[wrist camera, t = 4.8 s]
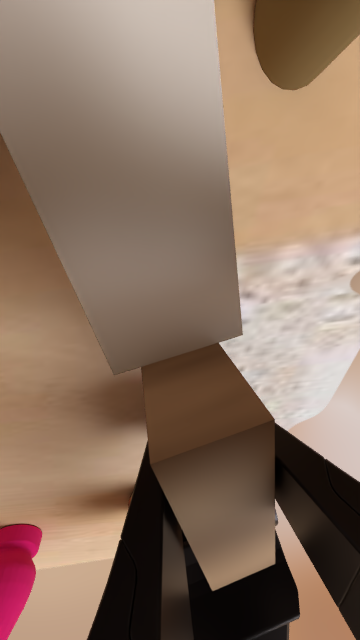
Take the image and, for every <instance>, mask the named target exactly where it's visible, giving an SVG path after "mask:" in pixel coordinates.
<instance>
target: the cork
mask: <svg viewBox="0 0 360 640" xmlns="http://www.w3.org/2000/svg"><path fill="white" fill-rule="evenodd" d="M359 34H360V0H257V2H256V5H255V17H254V39H255V47H256V53H257V56H258V59H259V61H260V64H261V67H262V70H263V71H264V72H265V74H266V75H267V77H268V78H269V79H270V81H271V82H272V83H274V84H275V85H277V86H278V87H280V88H282V89H286V90H297V89H299V88H302V87H304V86H307V85H308V84H309V83H310V82H312V81H313V80H314V79H315V78H316V77H317V76H318V75H319V74H320V73H321V72H322V71H323V70H324V69H325V68H326V67H327V66H328V65H329V64H330V63H331V62H332V61H333V60H334V59H335V58H336V57H337V56H338V55H339V54H340V53H341V52H342V51H343V50H344V49H345V48H346V47H347V46H348V45H349V44H350V43H351V42H352V41H353V40H354V39H355V38H356V37H357V36H358V35H359Z"/></svg>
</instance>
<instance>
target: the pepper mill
mask: <svg viewBox="0 0 360 640" xmlns="http://www.w3.org/2000/svg"><path fill="white" fill-rule="evenodd" d="M41 538H42V532H41V530H40V529H39V528H37V527H35V526H32V525H26V524H20V525H12V526H7V527H4V528H1V529H0V640H7V639H8V637H9V635H10V633H11V631H12V629H13V627H14V625H15V623H16V622H17V620H18V618H19V616H20V614H21V612H22V610H23V609H24V606H25V604H26V602H27V599H28V597H29V595H30V592H31V590H32V586H33V583H34V580H35V575H36V569H35V565H34V563H33V561H32V558H33V557H34V556H35V555H36V554H37V552H38V549H39V546H40V542H41Z"/></svg>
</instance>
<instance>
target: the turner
mask: <svg viewBox="0 0 360 640" xmlns="http://www.w3.org/2000/svg"><path fill="white" fill-rule="evenodd" d="M0 133H1V135H2V137H3V139H4V142H5V144H6V146H7V148H8V150H9V152H10V154H11V156H12V159H13V161H14V163H15V165H16V167H17V169H18V171H19V174H20V176H21V178H22V180H23V182H24V184H25V186H26V188H27V191H28V193H29V195H30V197H31V199H32V201H33V203H34V206H35V208H36V210H37V212H38V214H39V216H40V218H41V220H42V223H43V225H44V227H45V229H46V231H47V233H48V235H49V238H50V240H51V242H52V244H53V246H54V248H55V250H56V252H57V255H58V257H59V259H60V261H61V263H62V265H63V267H64V269H65V272H66V274H67V276H68V278H69V280H70V282H71V284H72V287H73V289H74V291H75V293H76V295H77V297H78V299H79V301H80V304H81V306H82V308H83V310H84V312H85V314H86V316H87V319H88V321H89V323H90V325H91V327H92V329H93V331H94V333H95V336H96V338H97V340H98V342H99V344H100V346H101V348H102V350H103V353H104V355H105V357H106V359H107V361H108V363H109V365H110V368H111V370H112V372H113V374H114V375H117V374H120V373H123V372H126V371H129V370H133V369H136V368H139V367H141V370H142V381H143V392H144V403H145V413H146V424H147V435H148V446H149V457H150V465H151V467H152V469H153V471H154V473H155V475H156V477H157V479H158V481H159V483H160V485H161V487H162V489H163V491H164V494H165V496H166V498H167V500H168V502H169V504H170V506H171V508H172V510H173V512H174V514H175V516H176V518H177V520H178V522H179V524H180V526H181V528H182V530H183V532H184V534H185V536H186V538H187V540H188V542H189V544H190V546H191V548H192V550H193V553H194V555H195V557H196V559H197V561H198V563H199V565H200V567H201V569H202V571H203V573H204V575H205V577H206V579H207V581H208V583H209V585H210V587H211V589H212V591H214V590H217V589H219V588H221V587H223V586H226V585H228V584H230V583H233V582H235V581H237V580H239V579H242V578H244V577H246V576H249V575H251V574H253V573H255V572H258V571H260V570H262V569H265V568H267V567H269V566H271V565H274V564H275V419H274V418H273V416H272V415H271V414H270V412H269V411H268V410H267V408H266V407H265V406H264V404H263V403H262V402H261V400H260V399H259V397H258V396H257V395H256V393H255V392H254V391H253V389H252V388H251V387H250V385H249V384H248V382H247V381H246V380H245V378H244V377H243V376H242V374H241V373H240V372H239V370H238V369H237V367H236V366H235V365H234V363H233V362H232V361H231V359H230V358H229V357H228V355H227V354H226V352H225V351H224V350H223V348H222V347H221V346H220V344H219V342H222V341H225V340H228V339H232V338H235V337H238V336H241V335H243V333H242V321H241V309H240V298H239V286H238V274H237V263H236V251H235V240H234V228H233V216H232V205H231V193H230V181H229V170H228V158H227V147H226V135H225V123H224V112H223V100H222V88H221V77H220V65H219V54H218V42H217V30H216V19H215V7H214V0H0Z"/></svg>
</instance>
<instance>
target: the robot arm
mask: <svg viewBox="0 0 360 640" xmlns="http://www.w3.org/2000/svg"><path fill="white" fill-rule="evenodd" d="M275 499H276V501H277V502H278V504H279V506H280V508H281V510H282V511H283V513H284V515H285V516H286V518H287V520H288V522H289V523H290V525H291V527H292V528H293V530H294V532H295V534H296V536H297V537H298V539H299V540H300V543H301V544H302V546H303V548H304V549H305V551H306V553H307V555H308V556H309V558H310V560H311V562H312V563H313V565H314V567H315V569H316V570H317V572H318V574H319V575H320V577H321V579H322V581H323V582H324V584H325V586H326V588H327V589H328V591H329V593H330V595H331V596H332V598H333V600H334V602H335V603H336V605H337V607H339V611H340V612H341V614H342V616H343V617H344V619H345V621H346V623H347V624H348V626H349V628H350V630H351V631H352V633H353V635H354V637H355V638H356V640H360V482H359V481H357V480H356V479H354V478H353V477H351V476H350V475H348V474H347V473H346V472H344V471H342V470H341V469H340V468H338V467H337V466H335V465H334V464H333V463H331V462H330V461H328V460H327V459H324V457H323V456H321V455H320V454H318V453H317V452H316V451H314V450H313V449H311V448H310V447H309V446H307V445H306V444H304V443H303V442H302V441H300V440H299V439H297V438H296V437H295V436H293V435H292V434H290V433H289V432H288V431H286V430H285V429H283V428H282V427H280V426H279V425H278V424H276V423H275ZM277 524H278V518H277V514H276V510H275V526H276V525H277ZM299 617H300V610H299V598H298V590H297V586H296V584H295V581H294V579H293V577H292V574H291V571H290V569H289V567H288V564H287V562H286V559H285V556H284V553H283V550H282V547H281V544H280V542H279V539H278V536H277V533H276V530H275V564H274V565H271V566H269V567H267V568H265V569H262V570H260V571H258V572H255V573H253V574H251V575H249V576H246V577H244V578H242V579H239V580H237V581H235V582H233V583H230V584H228V585H226V586H223V587H221V588H219V589H217V590H214V591H212V589H211V587H210V585H209V583H208V581H207V579H206V577H205V575H204V573H203V571H202V569H201V567H200V565H199V563H198V561H197V559H196V557H195V555H194V553H193V550H192V548H191V546H190V544H189V542H188V540H187V538H186V536H185V534H184V532H183V530H182V528H181V526H180V524H179V522H178V520H177V518H176V516H175V514H174V512H173V510H172V508H171V506H170V504H169V502H168V500H167V498H166V496H165V494H164V491H163V489H162V487H161V485H160V483H159V481H158V479H157V477H156V475H155V473H154V471H153V469H152V467H151V465H150V457H149V446H148V441H147V445H146V448H145V452H144V456H143V459H142V463H141V466H140V470H139V473H138V477H137V480H136V484H135V487H134V491H133V495H132V498H131V502H130V505H129V509H128V512H127V516H126V519H125V523H124V526H123V530H122V534H121V540H120V541H119V544H118V547H117V551H116V554H115V558H114V561H113V565H112V568H111V571H110V575H109V578H108V581H107V584H106V587H105V590H104V593H103V596H102V599H101V602H100V604H99V607H98V610H97V613H96V616H95V619H94V621H93V624H92V628H91V630H90V633H89V636H88V638H87V640H289V623H290V622H292V621H294V620H296V619H299Z"/></svg>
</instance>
